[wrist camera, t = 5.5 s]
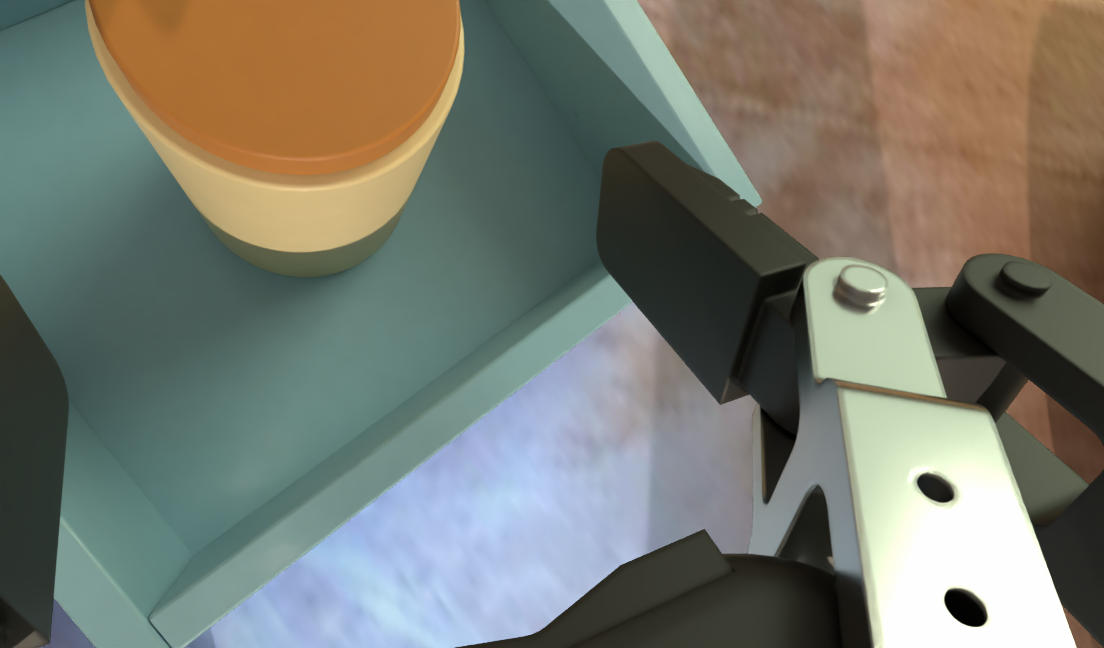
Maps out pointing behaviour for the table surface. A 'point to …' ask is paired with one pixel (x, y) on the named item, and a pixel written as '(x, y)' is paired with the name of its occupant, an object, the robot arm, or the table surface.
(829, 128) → the table surface
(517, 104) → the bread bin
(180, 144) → the lidded cream canister
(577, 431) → the table surface
